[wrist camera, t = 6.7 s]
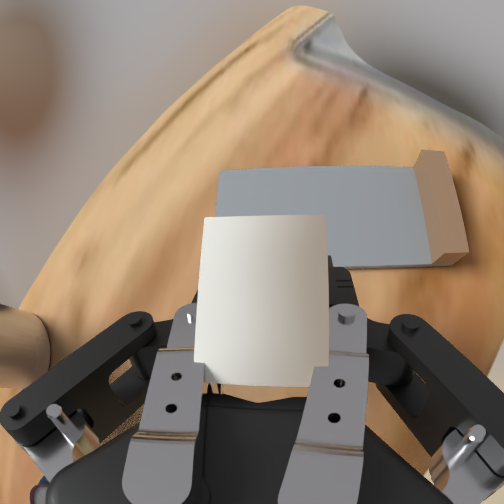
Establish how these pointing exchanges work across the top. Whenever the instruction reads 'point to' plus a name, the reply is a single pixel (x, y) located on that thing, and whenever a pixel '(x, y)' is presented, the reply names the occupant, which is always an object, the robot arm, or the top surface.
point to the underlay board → (361, 209)
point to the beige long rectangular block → (263, 300)
